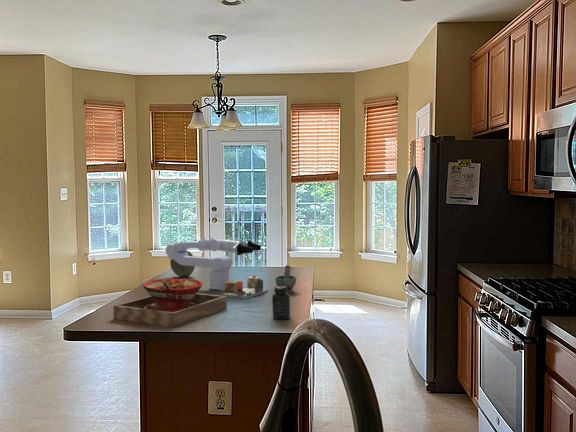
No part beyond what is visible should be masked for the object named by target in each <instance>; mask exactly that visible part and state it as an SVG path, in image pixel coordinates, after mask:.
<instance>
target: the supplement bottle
mask: <svg viewBox="0 0 576 432" xmlns="http://www.w3.org/2000/svg"><path fill="white" fill-rule="evenodd" d="M287 292H288V290H287V287H286V286H277V285H276V286H275V287H274V294H272V297H271V298H272V299H271V300H272V302H271V303H272V305H271V306H272V307H271V308H272V309H271V311H272V318H273V319H274V320H278V321H286V320H289V319H290V318H291V296H290V294H289V293H287Z"/></svg>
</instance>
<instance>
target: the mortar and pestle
mask: <svg viewBox="0 0 576 432" xmlns="http://www.w3.org/2000/svg"><path fill="white" fill-rule="evenodd" d="M291 267H292V266H290V265H285V266H284V274H283V275H279V276H278V275H277V276H276V277H275V284H276V286H286V287H287V290H288V292H287V293H288V294H289V293H293V288H294V287H295V285H296V283H297V277H296V276H294V275H291Z"/></svg>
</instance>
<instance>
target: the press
mask: <svg viewBox="0 0 576 432" xmlns="http://www.w3.org/2000/svg"><path fill="white" fill-rule="evenodd" d="M243 291H245V294H244V295H246V293H249V292H251V294H252V297H258V296H260V295H263V294H265V293H268V289H267V288H264V280H263V279H262V278H261V279H257V280H256V281H255V288H247V287H246V288H245V287H243ZM233 294H235V292H234V293H233Z"/></svg>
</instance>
